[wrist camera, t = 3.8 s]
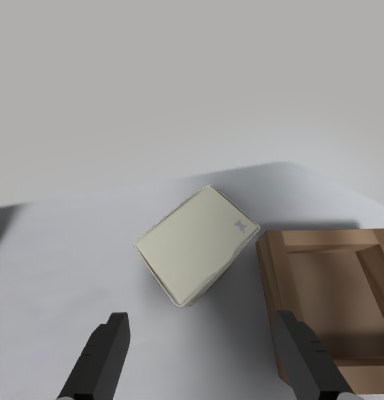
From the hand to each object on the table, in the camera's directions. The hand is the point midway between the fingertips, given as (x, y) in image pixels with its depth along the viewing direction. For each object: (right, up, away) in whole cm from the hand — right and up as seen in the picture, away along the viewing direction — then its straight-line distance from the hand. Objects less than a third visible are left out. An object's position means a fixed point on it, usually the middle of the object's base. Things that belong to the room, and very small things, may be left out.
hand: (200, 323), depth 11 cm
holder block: (+13, -3, +9) cm, 16 cm away
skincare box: (0, -1, +11) cm, 11 cm away
